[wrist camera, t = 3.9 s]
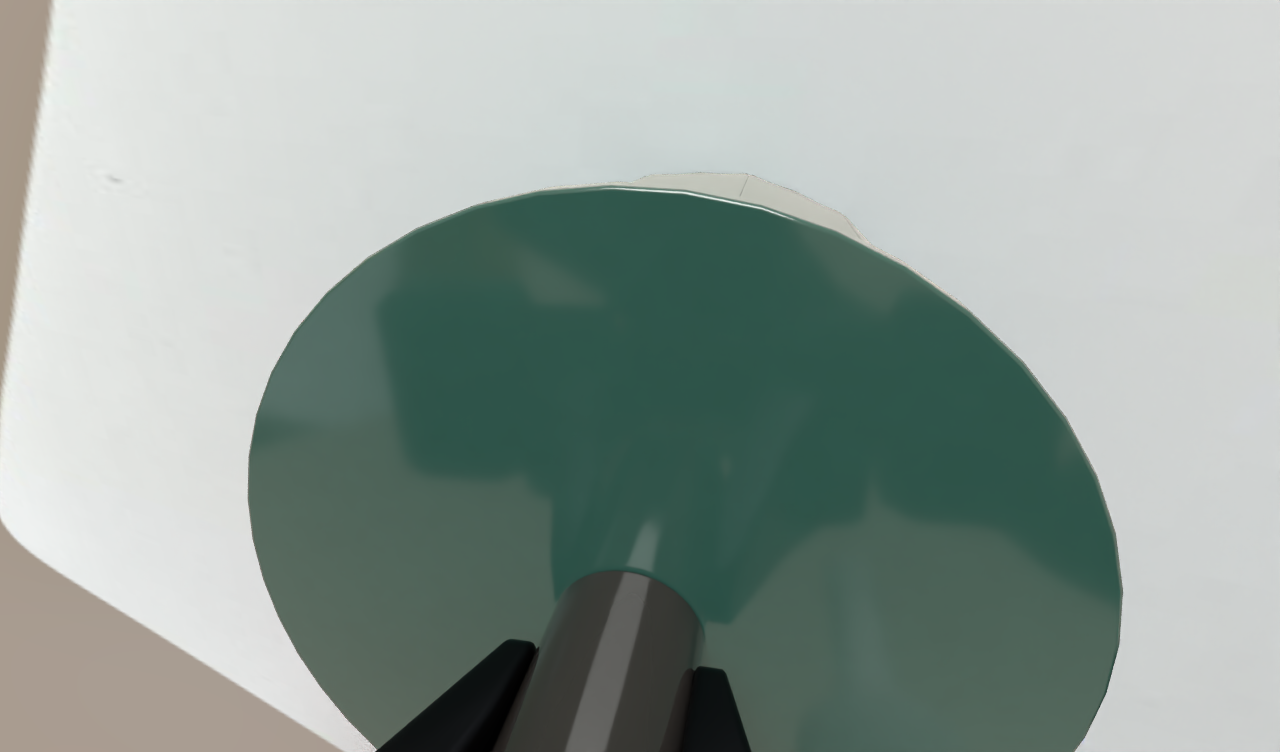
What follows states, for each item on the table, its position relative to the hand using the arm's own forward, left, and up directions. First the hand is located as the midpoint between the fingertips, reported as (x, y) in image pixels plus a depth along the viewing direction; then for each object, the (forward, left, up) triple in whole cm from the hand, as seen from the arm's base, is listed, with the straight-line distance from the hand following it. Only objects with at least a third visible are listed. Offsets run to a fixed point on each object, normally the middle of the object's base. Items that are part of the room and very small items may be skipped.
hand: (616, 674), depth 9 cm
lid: (0, 0, -1) cm, 1 cm away
